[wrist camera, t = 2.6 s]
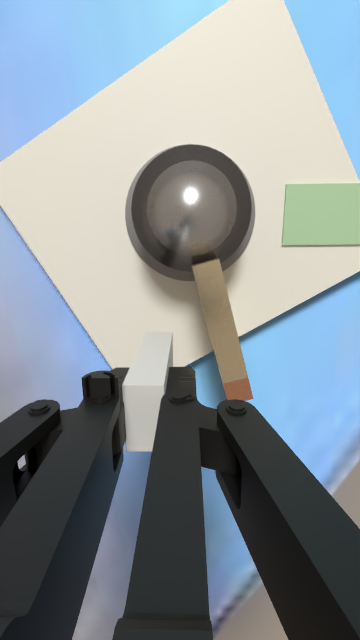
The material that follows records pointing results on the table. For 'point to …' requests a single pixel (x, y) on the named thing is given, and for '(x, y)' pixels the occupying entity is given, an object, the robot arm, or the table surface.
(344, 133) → the table surface
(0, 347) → the table surface
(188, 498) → the robot arm
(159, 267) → the board
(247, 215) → the peg dial
